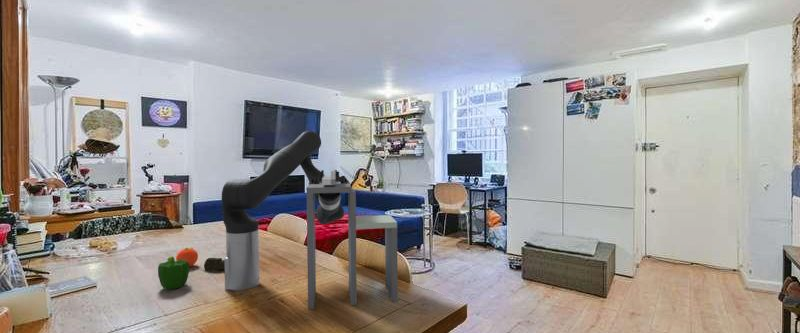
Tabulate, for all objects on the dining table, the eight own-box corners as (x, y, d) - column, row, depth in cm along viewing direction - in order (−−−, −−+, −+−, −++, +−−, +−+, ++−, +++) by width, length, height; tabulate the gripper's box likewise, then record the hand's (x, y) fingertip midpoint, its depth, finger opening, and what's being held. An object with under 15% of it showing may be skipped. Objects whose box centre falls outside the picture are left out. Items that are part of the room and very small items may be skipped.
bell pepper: (173, 281, 112) (173, 251, 112) (195, 283, 111) (194, 252, 110) (150, 291, 104) (149, 258, 104) (173, 293, 102) (172, 259, 102)
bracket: (322, 185, 91) (321, 171, 91) (323, 180, 111) (323, 169, 111) (335, 184, 92) (335, 171, 92) (334, 180, 111) (334, 169, 111)
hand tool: (258, 270, 124) (257, 257, 124) (251, 273, 120) (251, 260, 120) (209, 268, 127) (209, 255, 127) (202, 271, 123) (201, 258, 123)
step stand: (308, 309, 91) (306, 187, 90) (310, 292, 103) (309, 184, 102) (397, 301, 96) (396, 185, 95) (390, 285, 107) (389, 182, 107)
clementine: (183, 263, 132) (183, 245, 132) (202, 262, 133) (202, 244, 132) (172, 270, 124) (171, 250, 124) (192, 269, 125) (192, 249, 124)
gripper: (308, 186, 121) (305, 162, 106) (349, 185, 123) (352, 161, 109) (308, 206, 117) (304, 184, 102) (350, 205, 120) (353, 183, 105)
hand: (329, 172), depth 106 cm, fingers closed on bracket, 3 cm apart
